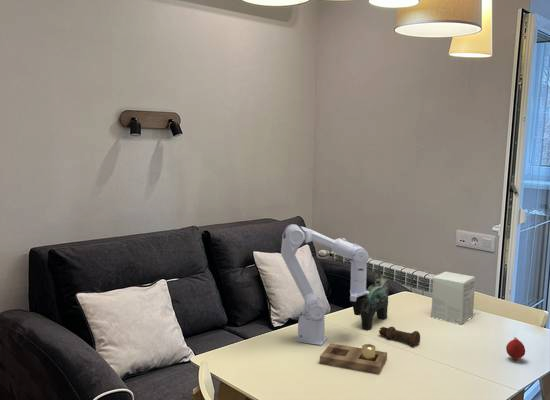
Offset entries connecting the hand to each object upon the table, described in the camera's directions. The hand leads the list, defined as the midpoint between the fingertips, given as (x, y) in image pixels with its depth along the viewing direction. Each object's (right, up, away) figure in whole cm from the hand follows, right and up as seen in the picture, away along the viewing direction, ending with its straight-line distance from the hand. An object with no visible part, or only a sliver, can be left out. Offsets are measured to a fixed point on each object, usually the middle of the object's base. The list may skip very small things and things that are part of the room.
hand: (357, 314), depth 193 cm
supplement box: (+44, -7, +25) cm, 51 cm away
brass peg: (0, -12, -20) cm, 24 cm away
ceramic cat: (+10, -8, +18) cm, 22 cm away
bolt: (+15, -10, 0) cm, 18 cm away
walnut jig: (-4, -12, -18) cm, 22 cm away
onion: (+51, -12, -17) cm, 55 cm away
